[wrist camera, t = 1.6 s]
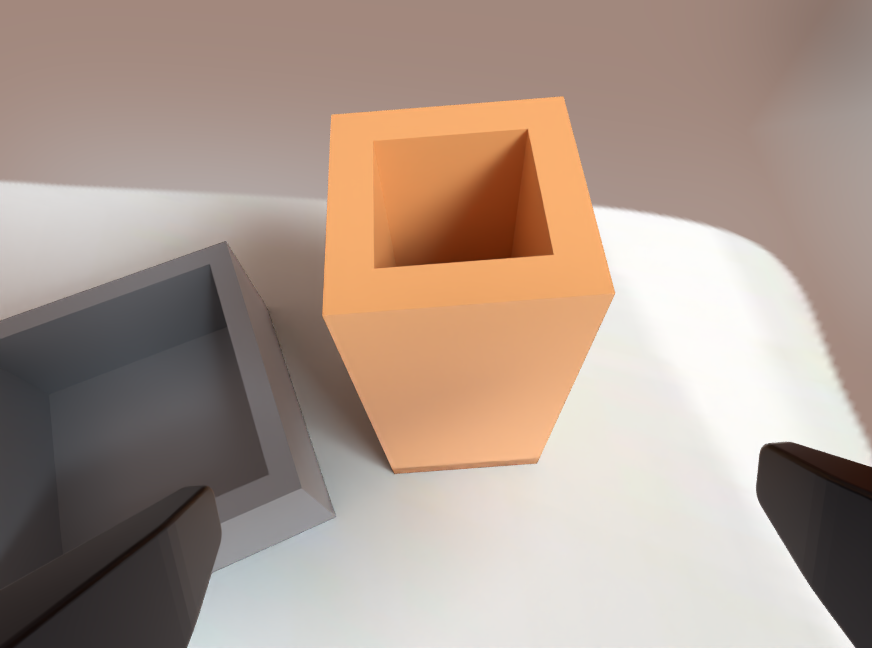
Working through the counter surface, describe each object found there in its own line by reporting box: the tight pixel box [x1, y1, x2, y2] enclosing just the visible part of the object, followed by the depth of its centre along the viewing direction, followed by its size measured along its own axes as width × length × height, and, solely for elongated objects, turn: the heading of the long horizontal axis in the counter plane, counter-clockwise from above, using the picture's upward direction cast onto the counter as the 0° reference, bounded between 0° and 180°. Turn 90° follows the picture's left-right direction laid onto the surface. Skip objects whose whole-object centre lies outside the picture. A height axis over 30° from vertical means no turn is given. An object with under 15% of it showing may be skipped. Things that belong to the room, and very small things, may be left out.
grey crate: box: [0, 241, 336, 590], centre depth 20 cm, size 10×10×5 cm
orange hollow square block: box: [322, 97, 615, 474], centre depth 17 cm, size 6×6×12 cm
